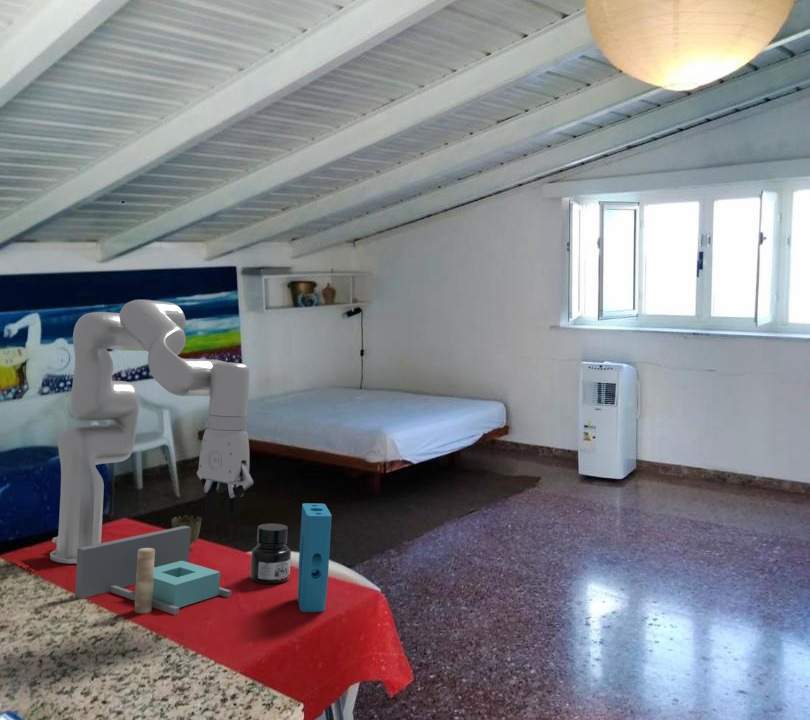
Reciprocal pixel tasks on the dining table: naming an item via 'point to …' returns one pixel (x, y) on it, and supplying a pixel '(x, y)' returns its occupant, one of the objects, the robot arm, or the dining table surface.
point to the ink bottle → (271, 555)
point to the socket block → (184, 583)
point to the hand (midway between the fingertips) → (222, 513)
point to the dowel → (144, 580)
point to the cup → (190, 523)
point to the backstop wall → (130, 563)
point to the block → (314, 557)
